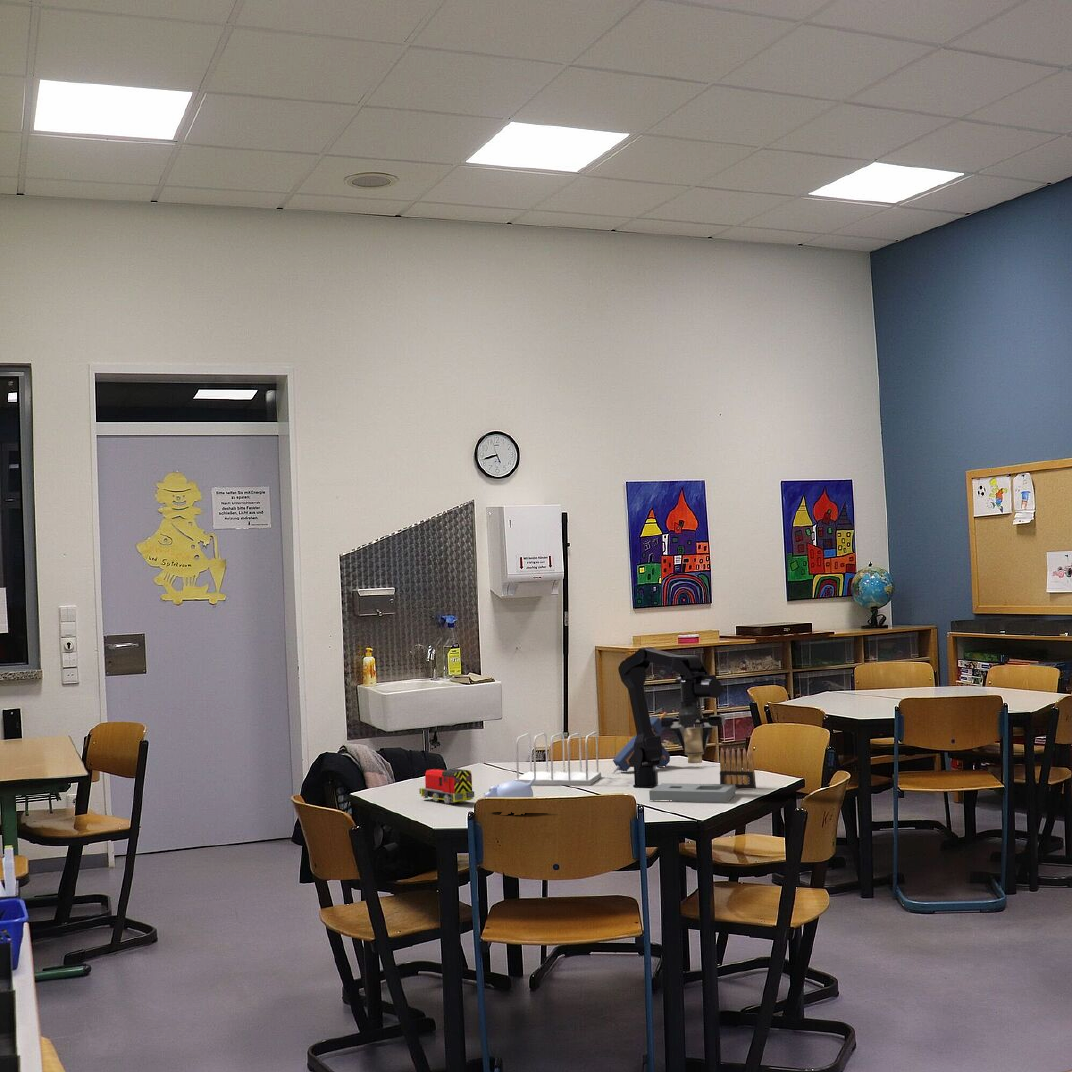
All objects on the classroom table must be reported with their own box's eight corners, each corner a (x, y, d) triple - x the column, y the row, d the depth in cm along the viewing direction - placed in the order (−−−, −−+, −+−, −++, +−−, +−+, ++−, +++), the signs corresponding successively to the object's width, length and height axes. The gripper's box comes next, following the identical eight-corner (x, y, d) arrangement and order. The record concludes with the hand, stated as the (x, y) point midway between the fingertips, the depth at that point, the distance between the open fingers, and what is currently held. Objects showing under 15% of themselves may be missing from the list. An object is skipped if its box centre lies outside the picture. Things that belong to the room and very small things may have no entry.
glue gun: (627, 801, 399) (605, 768, 395) (674, 740, 417) (653, 708, 412) (639, 802, 394) (617, 768, 390) (686, 740, 412) (666, 707, 408)
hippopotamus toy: (490, 809, 335) (489, 775, 335) (541, 809, 331) (540, 775, 332) (479, 815, 324) (478, 781, 325) (531, 816, 321) (530, 781, 321)
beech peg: (683, 763, 347) (681, 729, 347) (687, 761, 352) (685, 727, 353) (702, 763, 345) (700, 729, 345) (706, 761, 350) (704, 727, 351)
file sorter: (514, 785, 378) (512, 737, 379) (528, 777, 394) (527, 731, 395) (589, 785, 371) (587, 736, 372) (601, 777, 388) (599, 730, 389)
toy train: (456, 806, 341) (455, 772, 341) (419, 800, 356) (418, 767, 356) (475, 803, 345) (474, 769, 346) (437, 797, 360) (436, 764, 361)
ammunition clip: (720, 787, 356) (718, 748, 357) (721, 787, 357) (719, 747, 358) (754, 788, 351) (752, 748, 352) (756, 788, 353) (754, 747, 354)
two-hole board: (649, 801, 337) (649, 790, 337) (662, 793, 350) (662, 783, 350) (725, 802, 329) (724, 792, 329) (735, 794, 342) (735, 784, 342)
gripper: (653, 700, 345) (657, 754, 344) (716, 698, 339) (719, 753, 338) (663, 697, 356) (666, 749, 355) (724, 696, 349) (727, 748, 348)
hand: (694, 750), depth 348 cm, fingers closed on beech peg, 6 cm apart
